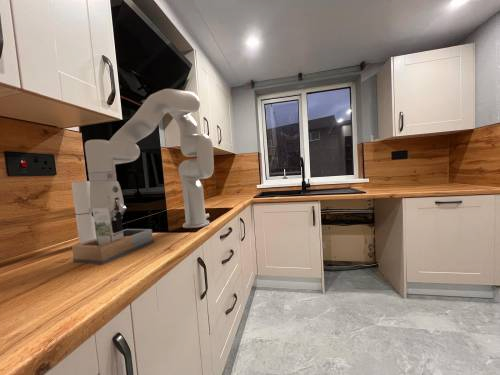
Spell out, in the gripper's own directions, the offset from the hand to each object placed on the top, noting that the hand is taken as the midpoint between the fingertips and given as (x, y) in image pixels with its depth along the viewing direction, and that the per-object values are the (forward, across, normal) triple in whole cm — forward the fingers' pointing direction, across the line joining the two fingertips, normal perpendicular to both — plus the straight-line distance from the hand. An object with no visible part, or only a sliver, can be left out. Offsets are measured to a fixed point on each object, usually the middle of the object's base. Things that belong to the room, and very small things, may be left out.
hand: (109, 231), depth 74 cm
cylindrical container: (+8, +22, -8) cm, 24 cm away
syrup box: (+6, 0, 0) cm, 6 cm away
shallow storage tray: (+7, 0, -2) cm, 8 cm away
